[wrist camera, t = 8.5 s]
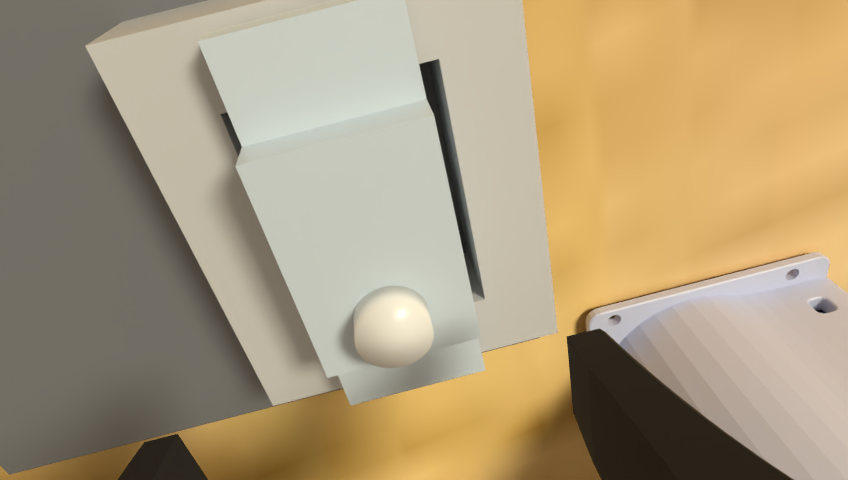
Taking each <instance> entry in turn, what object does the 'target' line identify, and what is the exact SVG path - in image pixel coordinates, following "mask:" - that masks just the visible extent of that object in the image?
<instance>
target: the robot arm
mask: <svg viewBox="0 0 848 480" xmlns="http://www.w3.org/2000/svg"><path fill="white" fill-rule="evenodd" d="M829 264H830V263H829V259H828V258H827V257H826V256H825V255H823V254H822V253H819V252H814V253H810V254H806V255H802V256H798V257H794V258H790V259H786V260H782V261H778V262H775V263H771V264H767V265H763V266H759V267H755V268H751V269H747V270H744V271H740V272H736V273H732V274H728V275H724V276H720V277H716V278H712V279H709V280H705V281H701V282H697V283H693V284H689V285H685V286H681V287H678V288H674V289H670V290H666V291H662V292H658V293H654V294H650V295H646V296H643V297H639V298H635V299H631V300H627V301H623V302H619V303H615V304H611V305H608V306H604V307H600V308H597V309H594V310H592V311H591V312H590V313H589V314H588V315H587V317H586V332H583V333H579V334H575V335H571V336H567V344H568V356H569V368H570V380H571V391H572V403H573V413H574V415H575V418H576V420H577V423H578V425H579V428H580V431H581V433H582V436H583V438H584V441H585V443H586V446H587V448H588V451H589V453H590V456H591V458H592V461H593V463H594V465H595V467H596V469H597V471H598V473H599V475H600V477H601V479H602V480H848V293H847V292H846V291H844V290H843V289H842V288H840V287H839V286H838V285H837V284H835V283H834V282H833V281H831V280H830V279H829V278H828V277H827V273H828V269H829ZM614 315H616V316H615V317H614V318H612V319H609V318H610V317H611V316H614ZM118 480H208V479H207V477H206V476H205V474H204V473H203V471H202V470H201V468H200V467H199V465H198V464H197V462H196V461H195V459H194V458H193V456H192V455H191V453H190V452H189V450H188V449H187V447H186V446H185V444H184V443H183V441H182V440H181V438H180V437H179V435H178V434H176V435H172V436H168V437H164V438H160V439H156V440H152V441H148V442H144V444H143V445H142V446H141V448H140V449H139V451H138V452H137V453H136V455H135V456H134V457H133V459H132V460H131V462H130V463H129V464H128V466H127V467H126V469H125V470H124V472H123V473H122V474H121V476H120V477H119V479H118Z"/></svg>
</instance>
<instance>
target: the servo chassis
mask: <svg viewBox="0 0 848 480" xmlns="http://www.w3.org/2000/svg"><path fill="white" fill-rule="evenodd" d="M326 1H330V0H0V466H1V467H2V468H3V469H4V470H5V471H6V472H7V473H8V474H9V475H10V474H13V473H17V472H21V471H25V470H29V469H33V468H37V467H41V466H44V465H48V464H52V463H56V462H60V461H64V460H68V459H72V458H75V457H79V456H83V455H87V454H91V453H95V452H99V451H103V450H107V449H110V448H114V447H118V446H122V445H126V444H130V443H134V442H138V441H141V440H145V439H149V438H153V437H157V436H161V435H165V434H169V433H172V432H176V431H180V430H184V429H188V428H192V427H196V426H200V425H204V424H207V423H211V422H215V421H219V420H223V419H227V418H231V417H235V416H238V415H242V414H246V413H250V412H254V411H258V410H262V409H266V408H269V407H273V406H277V405H281V404H285V403H289V402H293V401H297V400H301V399H304V398H308V397H312V396H316V395H320V394H324V393H328V392H332V391H335V390H339V389H343V386H342V384H341V382H340V379H339V377H338V375H337V376H333V377H329V378H327V376H326V373H325V371H324V369H323V366H322V364H321V362H320V360H319V357H318V355H317V353H316V350H315V348H314V346H313V343H312V341H311V339H310V337H309V334H308V332H307V330H306V327H305V325H304V323H303V321H302V318H301V316H300V314H299V311H298V309H297V307H296V304H295V302H294V300H293V298H292V295H291V293H290V291H289V288H288V286H287V284H286V282H285V279H284V277H283V275H282V272H281V270H280V268H279V265H278V263H277V261H276V259H275V256H274V254H273V252H272V249H271V247H270V245H269V243H268V240H267V238H266V236H265V233H264V231H263V229H262V226H261V224H260V222H259V220H258V217H257V215H256V213H255V210H254V208H253V206H252V204H251V201H250V199H249V197H248V194H247V192H246V190H245V187H244V185H243V183H242V181H241V178H240V176H239V174H238V171H237V169H236V167H235V166H236V163H237V160H238V157H239V154H240V151H241V148H242V146H241V143H240V141H239V139H238V136H237V134H236V132H235V129H234V127H233V124H232V122H231V120H230V117H229V115H228V113H227V110H226V108H225V105H224V103H223V101H222V98H221V96H220V93H219V91H218V89H217V86H216V84H215V82H214V79H213V77H212V74H211V72H210V70H209V67H208V65H207V63H206V60H205V58H204V55H203V53H202V51H201V48H200V46H199V44H198V40H199V39H200V38H201V37H202V36H203V35H204V33H205V32H209V31H213V30H217V29H220V28H224V27H228V26H232V25H236V24H240V23H244V22H248V21H252V20H256V19H259V18H263V17H267V16H271V15H275V14H279V13H283V12H287V11H291V10H294V9H298V8H302V7H306V6H310V5H314V4H318V3H322V2H326ZM405 2H406V7H407V11H408V16H409V20H410V25H411V30H412V34H413V39H414V43H415V48H416V53H417V57H418V62H419V66H420V71H421V76H422V80H423V85H424V89H425V94H426V99H427V101H428V103H429V105H430V107H431V110H432V112H433V114H434V117H435V122H436V127H437V131H438V136H439V141H440V145H441V150H442V155H443V160H444V164H445V169H446V174H447V178H448V183H449V188H450V192H451V197H452V202H453V206H454V211H455V216H456V220H457V225H458V230H459V235H460V239H461V244H462V249H463V253H464V258H465V263H466V267H467V272H468V277H469V281H470V286H471V291H472V295H473V300H474V305H475V310H476V314H477V319H478V324H479V328H480V333H481V338H479V343H480V347H481V352H482V353H483V352H487V351H491V350H494V349H498V348H502V347H506V346H510V345H514V344H518V343H522V342H526V341H529V340H533V339H537V338H540V337H543V336H547V335H550V334H554V333H558V330H557V321H556V312H555V302H554V293H553V284H552V274H551V265H550V256H549V246H548V237H547V228H546V218H545V209H544V200H543V190H542V181H541V172H540V162H539V153H538V144H537V134H536V125H535V116H534V106H533V97H532V88H531V78H530V69H529V60H528V50H527V41H526V32H525V22H524V13H523V4H522V0H405Z"/></svg>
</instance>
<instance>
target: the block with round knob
mask: <svg viewBox="0 0 848 480" xmlns="http://www.w3.org/2000/svg"><path fill="white" fill-rule="evenodd" d="M198 44H199V46H200V48H201V51H202V53H203V55H204V58H205V60H206V63H207V65H208V67H209V70H210V72H211V74H212V77H213V79H214V82H215V84H216V86H217V89H218V91H219V93H220V96H221V98H222V101H223V103H224V105H225V108H226V110H227V113H228V115H229V117H230V120H231V122H232V124H233V127H234V129H235V132H236V134H237V136H238V139H239V141H240V143H241V146H242V148H241V151H240V154H239V157H238V160H237V163H236V166H235V167H236V169H237V171H238V174H239V176H240V178H241V181H242V183H243V185H244V187H245V190H246V192H247V194H248V197H249V199H250V201H251V204H252V206H253V208H254V210H255V213H256V215H257V217H258V220H259V222H260V224H261V226H262V229H263V231H264V233H265V236H266V238H267V240H268V243H269V245H270V247H271V249H272V252H273V254H274V256H275V259H276V261H277V263H278V265H279V268H280V270H281V272H282V275H283V277H284V279H285V282H286V284H287V286H288V288H289V291H290V293H291V295H292V298H293V300H294V302H295V304H296V307H297V309H298V311H299V314H300V316H301V318H302V321H303V323H304V325H305V327H306V330H307V332H308V334H309V337H310V339H311V341H312V343H313V346H314V348H315V350H316V353H317V355H318V357H319V360H320V362H321V364H322V366H323V369H324V371H325V373H326V376H327V378H329V377H333V376H337V375H338V377H339V379H340V382H341V384H342V386H343V389H344V391H345V393H346V396H347V398H348V401H349V403H350V405H355V404H358V403H362V402H366V401H370V400H374V399H377V398H381V397H385V396H389V395H393V394H397V393H400V392H404V391H408V390H412V389H416V388H420V387H423V386H427V385H431V384H435V383H439V382H442V381H446V380H450V379H454V378H458V377H462V376H465V375H469V374H473V373H477V372H481V371H484V370H485V366H484V361H483V356H482V352H481V347H480V343H479V338H481V333H480V328H479V324H478V319H477V314H476V310H475V305H474V300H473V295H472V291H471V286H470V281H469V277H468V272H467V267H466V263H465V258H464V253H463V249H462V244H461V239H460V235H459V230H458V225H457V220H456V216H455V211H454V206H453V202H452V197H451V192H450V188H449V183H448V178H447V174H446V169H445V164H444V160H443V155H442V150H441V145H440V141H439V136H438V131H437V127H436V122H435V117H434V114H433V112H432V110H431V107H430V105H429V103H428V101H427V99H426V94H425V89H424V85H423V80H422V76H421V71H420V66H419V62H418V57H417V53H416V48H415V43H414V39H413V34H412V30H411V25H410V20H409V16H408V11H407V7H406V2H405V0H330V1H326V2H322V3H318V4H314V5H310V6H306V7H302V8H298V9H294V10H291V11H287V12H283V13H279V14H275V15H271V16H267V17H263V18H259V19H256V20H252V21H248V22H244V23H240V24H236V25H232V26H228V27H224V28H220V29H217V30H213V31H209V32H205V33H204V35H203V36H202V37H201V38H200V39H199V40H198Z"/></svg>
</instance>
